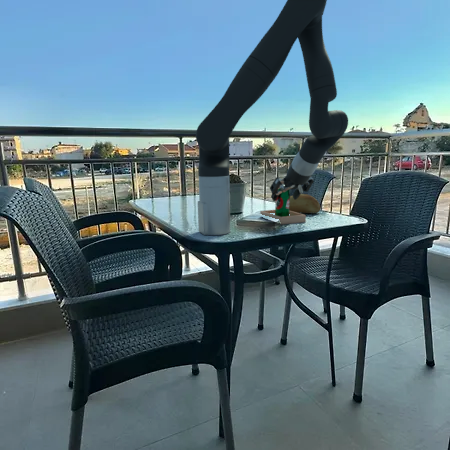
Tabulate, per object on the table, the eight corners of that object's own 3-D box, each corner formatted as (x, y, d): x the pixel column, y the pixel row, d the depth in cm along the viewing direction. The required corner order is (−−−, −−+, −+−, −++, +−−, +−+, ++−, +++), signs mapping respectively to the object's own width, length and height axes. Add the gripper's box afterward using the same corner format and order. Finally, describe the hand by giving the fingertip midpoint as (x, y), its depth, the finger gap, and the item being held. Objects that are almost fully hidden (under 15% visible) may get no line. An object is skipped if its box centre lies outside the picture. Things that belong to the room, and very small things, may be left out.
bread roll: (322, 215, 123) (322, 195, 122) (282, 215, 126) (282, 195, 124) (318, 211, 133) (319, 192, 131) (281, 211, 135) (282, 192, 133)
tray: (280, 224, 108) (280, 217, 108) (260, 217, 122) (260, 210, 122) (305, 222, 112) (305, 215, 111) (283, 215, 126) (283, 209, 125)
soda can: (289, 219, 114) (290, 185, 111) (274, 219, 115) (275, 185, 112) (289, 217, 119) (290, 184, 116) (275, 216, 120) (276, 184, 117)
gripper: (317, 157, 106) (296, 189, 119) (279, 158, 101) (262, 191, 114) (326, 174, 102) (304, 205, 115) (288, 176, 97) (269, 208, 110)
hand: (283, 198), depth 115 cm, fingers open, 8 cm apart
